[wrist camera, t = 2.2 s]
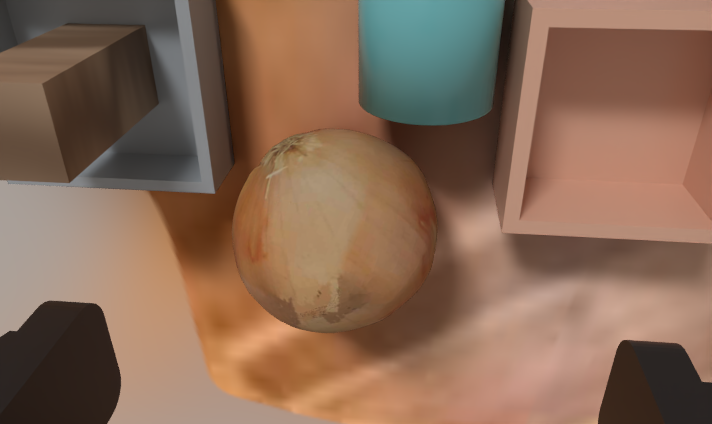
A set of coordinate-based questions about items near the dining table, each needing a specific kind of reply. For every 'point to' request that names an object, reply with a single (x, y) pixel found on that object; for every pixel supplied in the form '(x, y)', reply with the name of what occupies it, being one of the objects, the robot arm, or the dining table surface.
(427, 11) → the teal glossy cylinder
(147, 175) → the grey tub
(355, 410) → the dining table surface
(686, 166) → the planter
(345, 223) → the onion
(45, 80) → the walnut block
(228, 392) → the dining table surface
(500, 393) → the dining table surface
